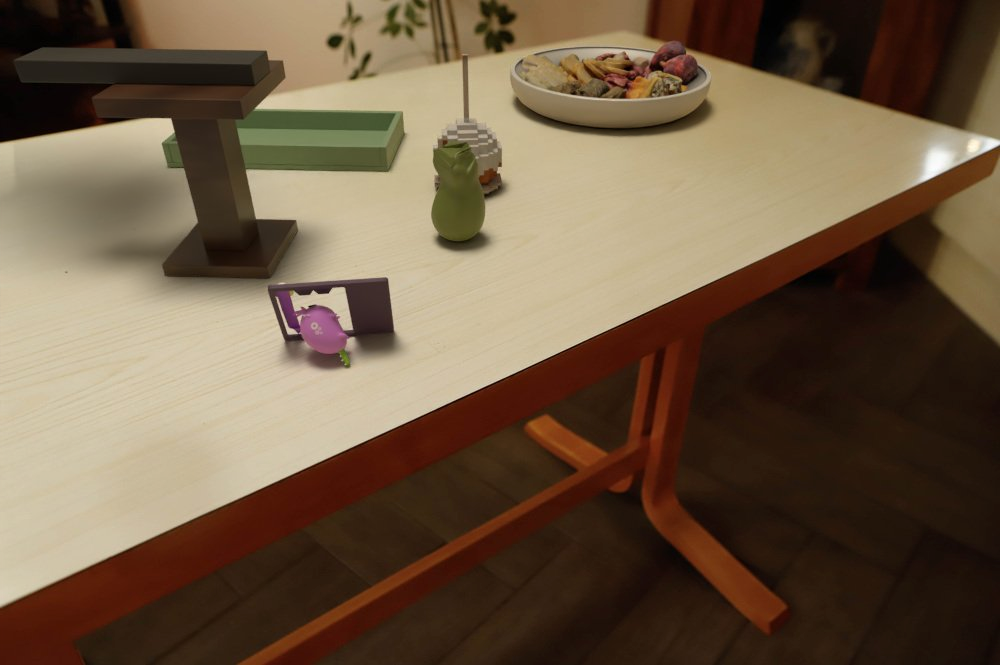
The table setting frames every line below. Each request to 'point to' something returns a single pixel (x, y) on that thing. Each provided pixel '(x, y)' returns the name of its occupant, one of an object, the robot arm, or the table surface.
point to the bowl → (611, 84)
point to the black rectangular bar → (143, 66)
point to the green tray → (313, 140)
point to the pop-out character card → (322, 323)
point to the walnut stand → (211, 173)
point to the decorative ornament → (474, 141)
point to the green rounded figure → (457, 193)
